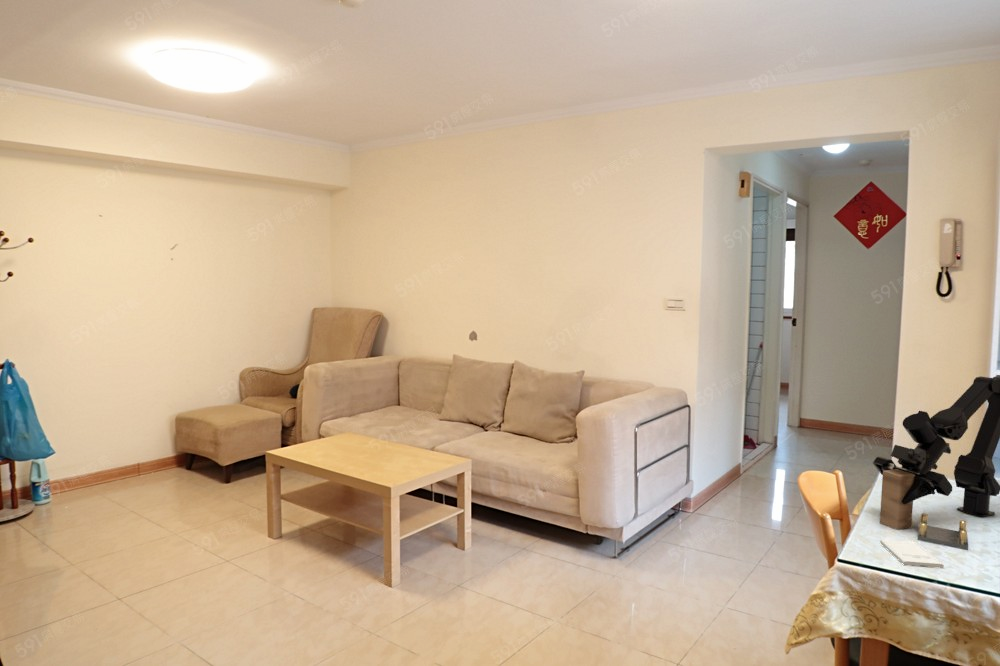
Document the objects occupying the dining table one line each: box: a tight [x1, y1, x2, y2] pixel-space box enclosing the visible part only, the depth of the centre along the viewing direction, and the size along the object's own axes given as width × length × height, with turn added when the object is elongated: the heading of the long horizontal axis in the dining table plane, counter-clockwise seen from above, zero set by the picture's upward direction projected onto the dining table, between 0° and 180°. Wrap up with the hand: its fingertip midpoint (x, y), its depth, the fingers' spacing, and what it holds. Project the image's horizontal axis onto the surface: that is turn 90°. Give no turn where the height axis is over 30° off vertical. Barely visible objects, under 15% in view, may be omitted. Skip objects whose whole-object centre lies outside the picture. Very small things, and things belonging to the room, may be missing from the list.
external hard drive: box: [879, 538, 944, 569], centre depth 148 cm, size 2×8×12 cm
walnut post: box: [879, 469, 915, 531], centre depth 166 cm, size 5×5×14 cm
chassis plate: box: [916, 513, 969, 551], centre depth 158 cm, size 10×10×4 cm
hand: (893, 499), depth 166 cm, fingers closed on walnut post, 5 cm apart
